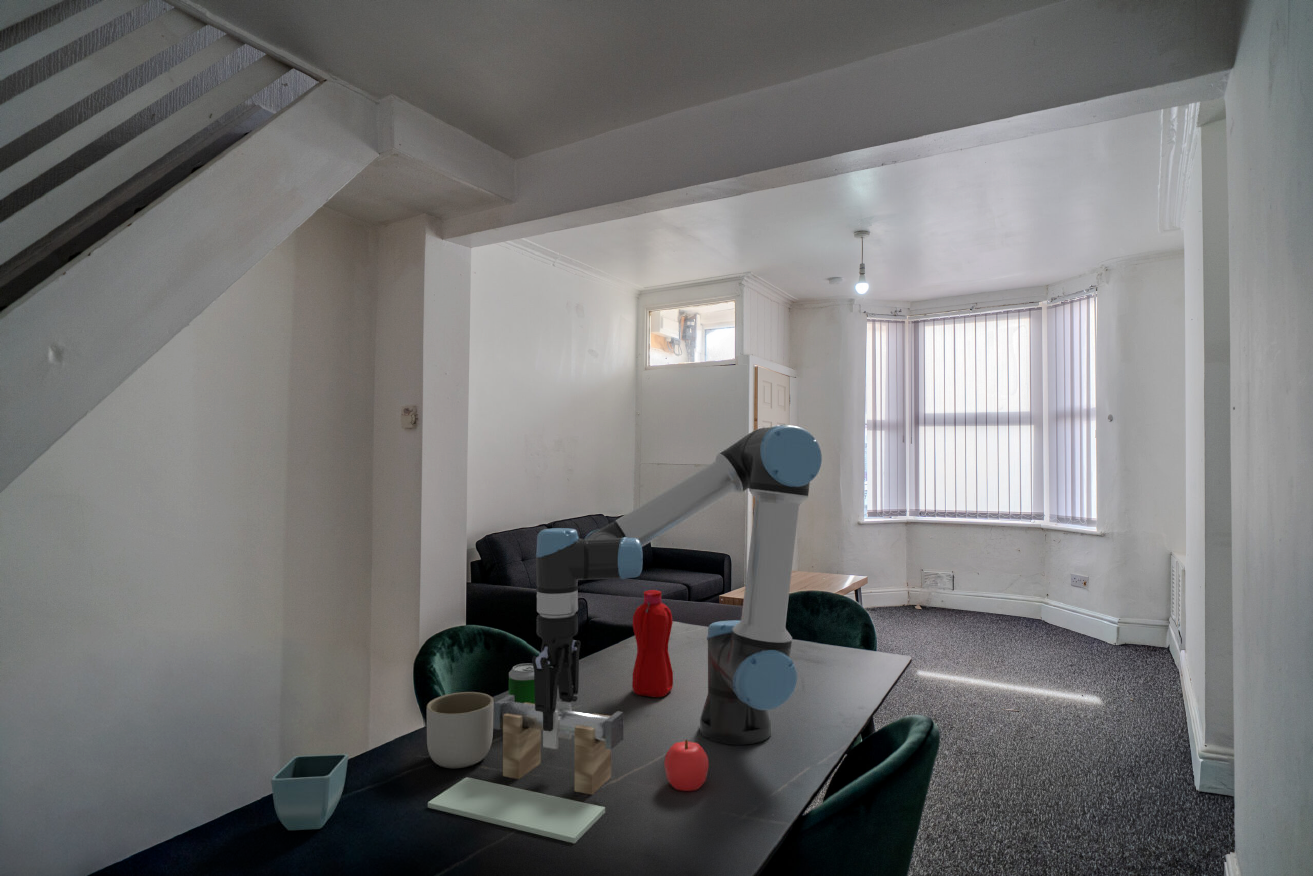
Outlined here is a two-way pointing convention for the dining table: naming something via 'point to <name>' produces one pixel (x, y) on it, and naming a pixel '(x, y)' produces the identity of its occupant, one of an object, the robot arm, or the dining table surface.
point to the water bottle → (652, 647)
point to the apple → (686, 766)
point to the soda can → (522, 683)
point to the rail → (562, 720)
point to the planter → (459, 728)
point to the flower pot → (309, 790)
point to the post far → (519, 747)
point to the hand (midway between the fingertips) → (557, 742)
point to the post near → (590, 760)
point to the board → (519, 809)
